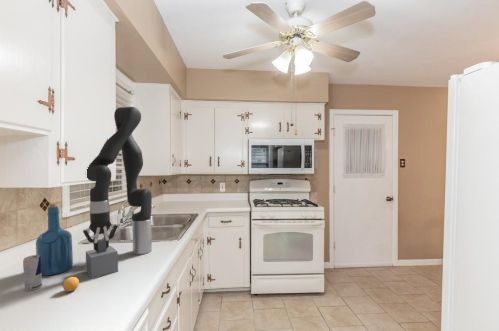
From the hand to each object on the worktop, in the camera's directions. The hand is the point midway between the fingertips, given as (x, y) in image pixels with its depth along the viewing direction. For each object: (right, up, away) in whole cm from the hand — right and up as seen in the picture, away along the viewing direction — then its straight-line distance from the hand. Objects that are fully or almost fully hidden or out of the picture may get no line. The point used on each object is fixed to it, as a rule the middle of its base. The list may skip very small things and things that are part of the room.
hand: (101, 249), depth 117 cm
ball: (-2, -8, -17) cm, 18 cm away
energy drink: (-19, -11, -14) cm, 26 cm away
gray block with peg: (0, -10, 0) cm, 10 cm away
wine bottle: (-22, -10, +2) cm, 24 cm away
